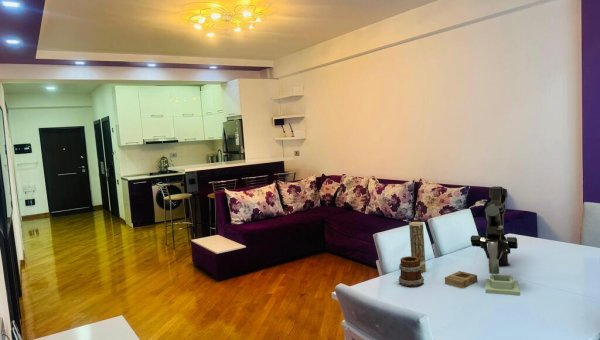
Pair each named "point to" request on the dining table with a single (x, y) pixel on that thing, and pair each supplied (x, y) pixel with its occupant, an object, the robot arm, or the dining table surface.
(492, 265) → the grey glass peg
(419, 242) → the bark textured cylinder
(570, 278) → the dining table surface
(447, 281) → the wooden rectangular frame
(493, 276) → the socket stand
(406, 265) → the mug
